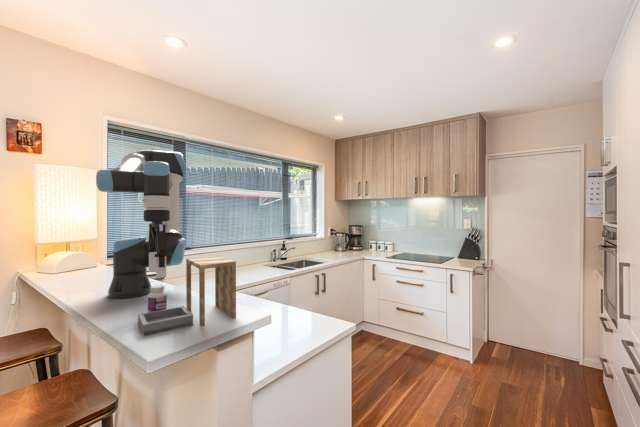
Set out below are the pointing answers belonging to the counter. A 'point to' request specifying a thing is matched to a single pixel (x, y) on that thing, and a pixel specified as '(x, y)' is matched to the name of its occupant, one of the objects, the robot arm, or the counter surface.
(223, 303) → the counter shelf
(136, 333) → the counter surface
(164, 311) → the tray
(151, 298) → the pill bottle
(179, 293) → the counter surface
